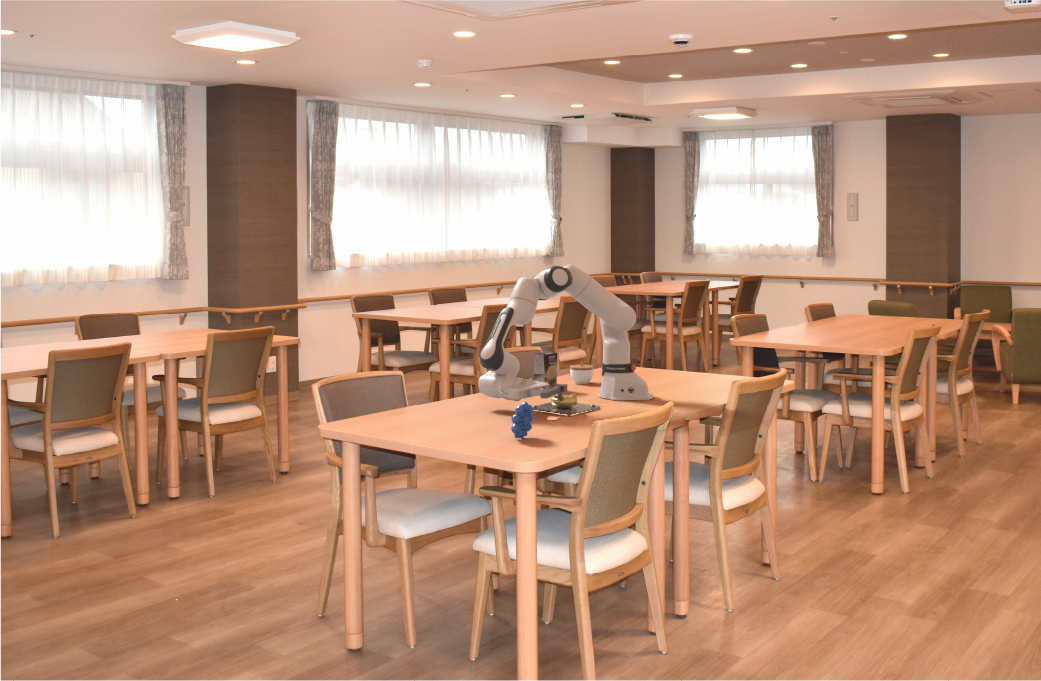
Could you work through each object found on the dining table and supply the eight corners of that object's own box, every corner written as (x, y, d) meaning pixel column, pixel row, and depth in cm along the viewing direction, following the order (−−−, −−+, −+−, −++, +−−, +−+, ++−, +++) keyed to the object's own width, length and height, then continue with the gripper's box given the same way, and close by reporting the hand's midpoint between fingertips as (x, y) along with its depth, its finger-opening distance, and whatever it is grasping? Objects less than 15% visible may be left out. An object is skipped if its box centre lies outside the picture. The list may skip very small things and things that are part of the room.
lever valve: (555, 400, 376) (556, 380, 376) (580, 402, 373) (580, 382, 372) (530, 413, 350) (530, 391, 350) (556, 415, 347) (556, 393, 346)
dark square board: (557, 403, 384) (558, 398, 384) (600, 408, 372) (600, 403, 372) (527, 410, 368) (527, 405, 368) (570, 416, 356) (570, 411, 356)
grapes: (521, 433, 326) (521, 398, 324) (538, 436, 322) (538, 400, 320) (501, 439, 316) (501, 403, 315) (519, 442, 312) (519, 405, 311)
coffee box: (545, 392, 410) (545, 354, 408) (533, 390, 414) (533, 353, 412) (557, 389, 418) (557, 352, 416) (545, 388, 421) (545, 351, 419)
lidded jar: (567, 384, 432) (567, 363, 431) (572, 380, 442) (573, 360, 441) (590, 385, 428) (590, 364, 427) (595, 382, 439) (596, 361, 438)
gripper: (497, 384, 354) (527, 388, 345) (531, 377, 370) (560, 381, 361) (497, 401, 355) (526, 405, 346) (531, 393, 371) (560, 398, 362)
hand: (544, 393), depth 354 cm, fingers closed
